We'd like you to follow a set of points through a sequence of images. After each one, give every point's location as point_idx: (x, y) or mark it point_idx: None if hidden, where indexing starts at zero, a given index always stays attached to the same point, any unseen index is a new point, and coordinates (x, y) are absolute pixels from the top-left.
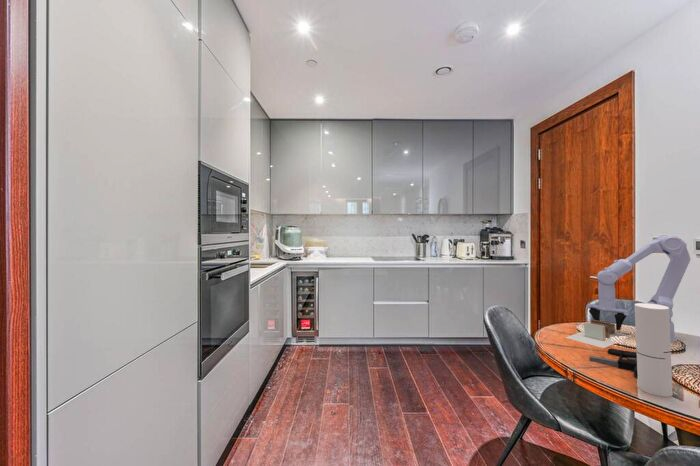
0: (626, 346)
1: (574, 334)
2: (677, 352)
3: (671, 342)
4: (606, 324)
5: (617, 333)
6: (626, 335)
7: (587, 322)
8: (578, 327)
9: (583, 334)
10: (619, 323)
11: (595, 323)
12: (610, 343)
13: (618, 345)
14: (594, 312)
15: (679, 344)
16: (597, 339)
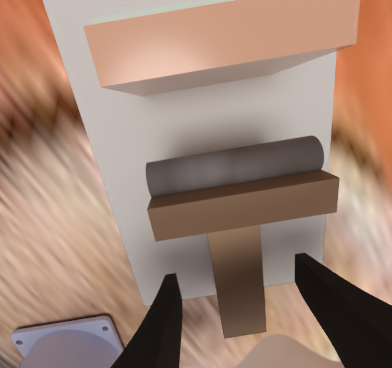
0: (27, 122)
1: None
2: None
3: (21, 353)
4: (165, 199)
5: (202, 284)
6: None
7: (332, 43)
8: (383, 215)
9: (295, 79)
10: (141, 326)
11: (266, 152)
12: (79, 55)
13: (54, 92)
14: None
15: (14, 361)
16: None
